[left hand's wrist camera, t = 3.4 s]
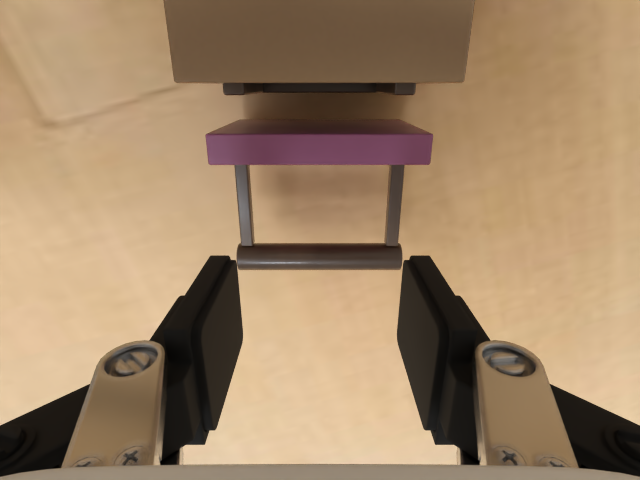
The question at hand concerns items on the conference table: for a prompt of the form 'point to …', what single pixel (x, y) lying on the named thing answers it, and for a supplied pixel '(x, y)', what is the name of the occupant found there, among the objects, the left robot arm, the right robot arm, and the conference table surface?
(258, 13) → the cabinet
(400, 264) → the drawer
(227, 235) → the conference table surface
